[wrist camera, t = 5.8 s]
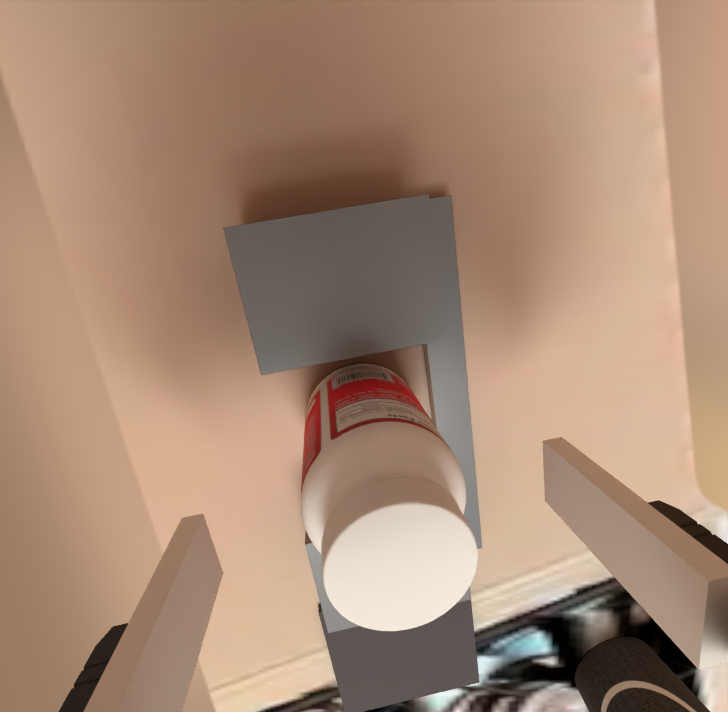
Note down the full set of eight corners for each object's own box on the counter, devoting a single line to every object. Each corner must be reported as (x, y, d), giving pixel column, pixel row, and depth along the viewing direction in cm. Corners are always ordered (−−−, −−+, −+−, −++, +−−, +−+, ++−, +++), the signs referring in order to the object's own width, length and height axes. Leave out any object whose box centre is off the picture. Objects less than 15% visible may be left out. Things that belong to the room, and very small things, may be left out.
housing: (242, 231, 18) (223, 228, 15) (445, 197, 19) (478, 185, 15) (326, 572, 25) (328, 633, 21) (477, 538, 25) (505, 591, 21)
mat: (318, 605, 25) (318, 612, 25) (465, 571, 26) (468, 577, 25) (345, 708, 28) (345, 715, 28) (476, 674, 29) (479, 682, 28)
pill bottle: (355, 479, 23) (387, 681, 12) (282, 411, 21) (248, 578, 11) (435, 413, 22) (541, 566, 12) (367, 337, 21) (420, 436, 10)
